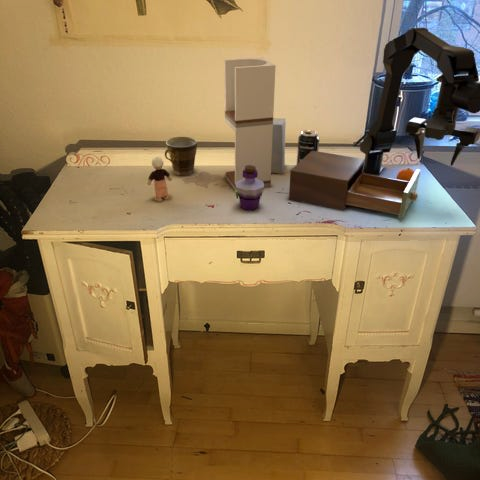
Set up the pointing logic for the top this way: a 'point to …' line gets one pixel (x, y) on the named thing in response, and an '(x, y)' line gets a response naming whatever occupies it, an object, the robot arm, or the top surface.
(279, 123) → the cosmetic box
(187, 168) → the ceramic cup
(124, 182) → the top surface
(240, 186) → the potion bottle
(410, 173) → the orange
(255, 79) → the white tower
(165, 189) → the grandmother figurine
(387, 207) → the drawer
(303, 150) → the beverage can
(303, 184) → the cabinet
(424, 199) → the top surface
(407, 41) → the robot arm
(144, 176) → the top surface
